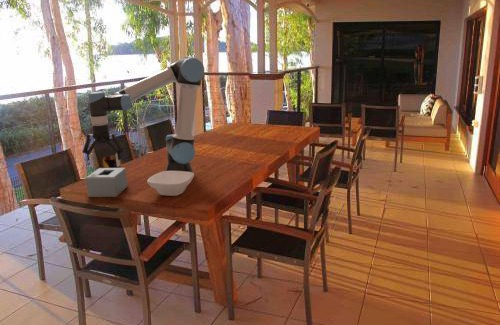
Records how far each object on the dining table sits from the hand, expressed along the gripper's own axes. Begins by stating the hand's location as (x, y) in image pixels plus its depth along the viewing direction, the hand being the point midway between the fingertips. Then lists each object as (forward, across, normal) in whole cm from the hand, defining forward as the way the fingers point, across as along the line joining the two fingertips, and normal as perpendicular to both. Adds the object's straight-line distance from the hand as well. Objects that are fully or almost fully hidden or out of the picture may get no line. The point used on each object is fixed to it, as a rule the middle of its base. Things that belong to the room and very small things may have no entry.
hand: (105, 166), depth 219 cm
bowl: (+14, -34, +4) cm, 37 cm away
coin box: (+13, 0, 0) cm, 13 cm away
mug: (+14, +4, -21) cm, 25 cm away
